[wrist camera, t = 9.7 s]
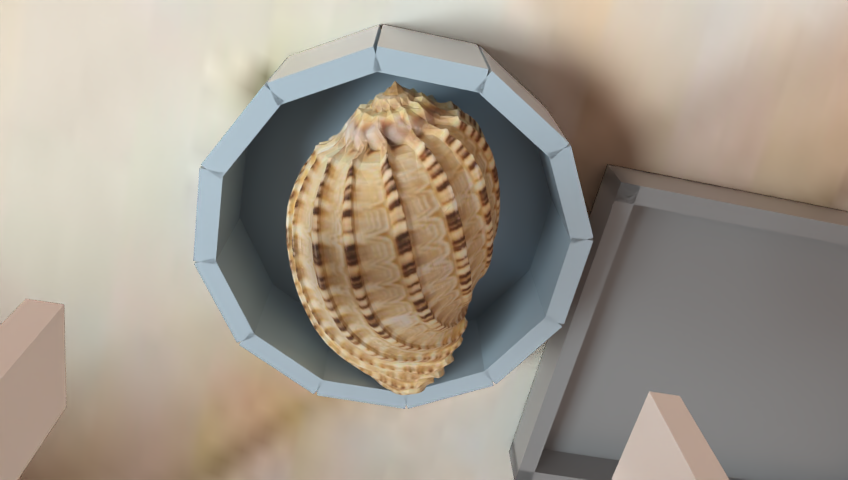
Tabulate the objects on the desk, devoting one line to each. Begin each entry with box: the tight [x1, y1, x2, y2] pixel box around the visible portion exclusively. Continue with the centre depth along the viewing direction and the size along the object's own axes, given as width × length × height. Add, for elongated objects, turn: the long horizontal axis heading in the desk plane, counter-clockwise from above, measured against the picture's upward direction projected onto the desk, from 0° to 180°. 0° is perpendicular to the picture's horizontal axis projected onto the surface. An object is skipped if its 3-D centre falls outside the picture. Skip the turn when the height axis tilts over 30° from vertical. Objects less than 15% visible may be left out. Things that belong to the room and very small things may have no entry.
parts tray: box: [509, 165, 848, 480], centre depth 28 cm, size 17×14×2 cm
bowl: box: [193, 24, 593, 409], centre depth 23 cm, size 12×12×4 cm
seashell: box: [286, 81, 500, 395], centre depth 22 cm, size 8×6×10 cm
